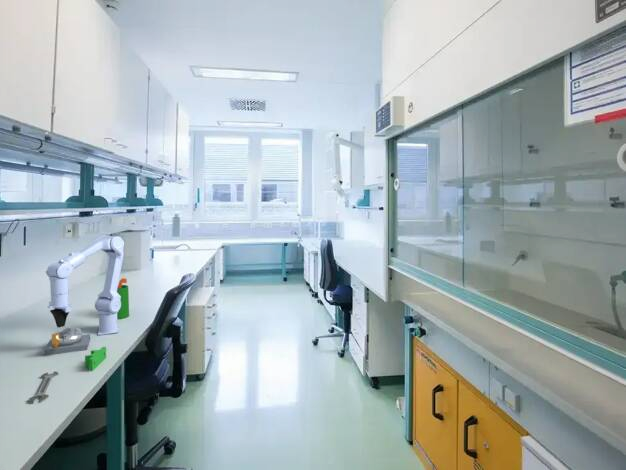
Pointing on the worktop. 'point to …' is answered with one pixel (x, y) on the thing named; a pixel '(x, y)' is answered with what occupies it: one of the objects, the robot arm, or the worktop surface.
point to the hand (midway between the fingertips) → (60, 326)
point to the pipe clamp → (95, 358)
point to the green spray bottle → (123, 299)
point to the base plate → (68, 346)
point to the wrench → (43, 388)
